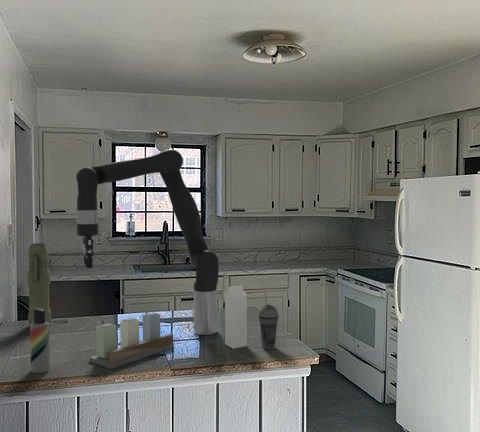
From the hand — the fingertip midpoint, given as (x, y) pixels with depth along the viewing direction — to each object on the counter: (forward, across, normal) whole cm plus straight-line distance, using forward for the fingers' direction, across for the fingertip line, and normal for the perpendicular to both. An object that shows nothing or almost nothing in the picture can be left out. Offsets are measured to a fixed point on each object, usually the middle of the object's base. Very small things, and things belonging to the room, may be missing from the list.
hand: (88, 266), depth 187 cm
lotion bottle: (+30, -22, +17) cm, 40 cm away
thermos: (+29, +35, +17) cm, 49 cm away
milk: (+30, -21, -50) cm, 62 cm away
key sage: (+28, -21, -4) cm, 35 cm away
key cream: (+28, -16, -12) cm, 34 cm away
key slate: (+28, -10, -21) cm, 36 cm away
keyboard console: (+29, -17, -13) cm, 36 cm away
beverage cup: (+30, -28, -60) cm, 72 cm away
